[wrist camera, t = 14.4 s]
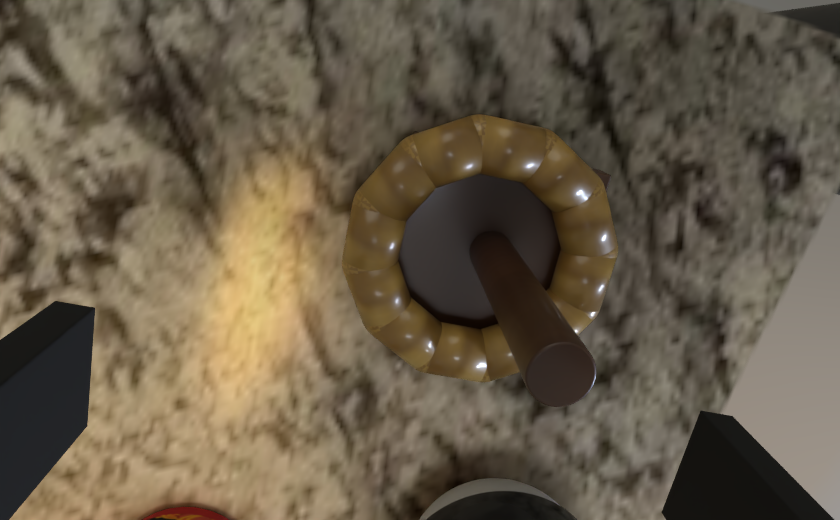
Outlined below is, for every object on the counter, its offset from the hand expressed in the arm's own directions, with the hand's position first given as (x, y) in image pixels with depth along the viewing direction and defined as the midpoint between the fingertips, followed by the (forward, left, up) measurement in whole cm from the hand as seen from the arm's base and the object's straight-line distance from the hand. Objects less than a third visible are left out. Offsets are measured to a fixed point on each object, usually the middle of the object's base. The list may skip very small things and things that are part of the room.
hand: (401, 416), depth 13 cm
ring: (-4, 0, -14) cm, 15 cm away
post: (-5, 0, -17) cm, 17 cm away
